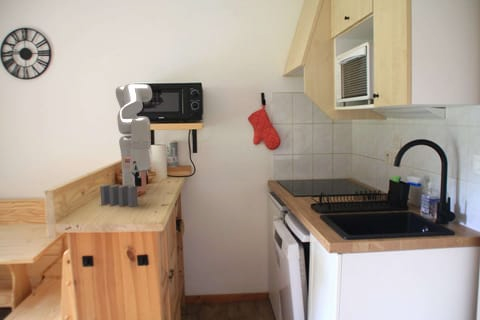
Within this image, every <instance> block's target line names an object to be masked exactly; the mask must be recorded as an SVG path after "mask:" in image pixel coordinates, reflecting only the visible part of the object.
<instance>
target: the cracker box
mask: <svg viewBox="0 0 480 320" xmlns="http://www.w3.org/2000/svg"><path fill="white" fill-rule="evenodd" d="M123 166H124V186H128V188H129V187H132V186H135V178H134V175H133V174H132V173H131V169H130V157H127V158H123ZM137 171H138V170H137ZM146 190H147V189H146ZM146 190H143V191H137V195H138V197H140V196H141V195H145V194H146V193H147V191H146Z"/></svg>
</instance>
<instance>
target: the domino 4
mask: <svg viewBox="0 0 480 320" xmlns="http://www.w3.org/2000/svg"><path fill="white" fill-rule="evenodd" d="M138 197H139V196H138V195H137V186H132V187H129V188H128V205H127V206H128V208H134V207H136V206H138V205H139V200H138V199H139V198H138ZM133 206H134V207H133Z"/></svg>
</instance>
